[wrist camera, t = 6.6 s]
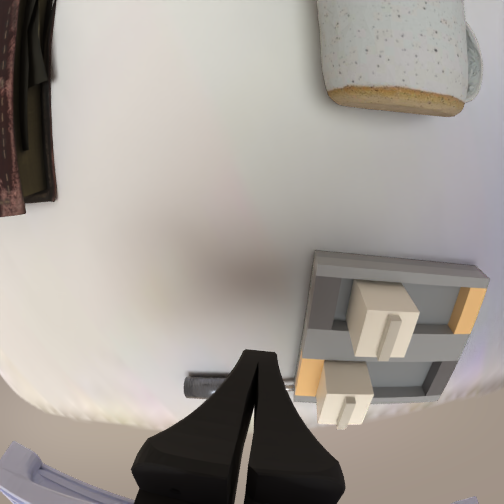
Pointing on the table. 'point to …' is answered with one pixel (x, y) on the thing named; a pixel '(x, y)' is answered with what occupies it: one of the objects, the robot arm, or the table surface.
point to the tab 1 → (343, 393)
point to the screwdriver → (207, 386)
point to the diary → (25, 105)
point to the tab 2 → (380, 319)
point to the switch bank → (424, 336)
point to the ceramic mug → (399, 55)
